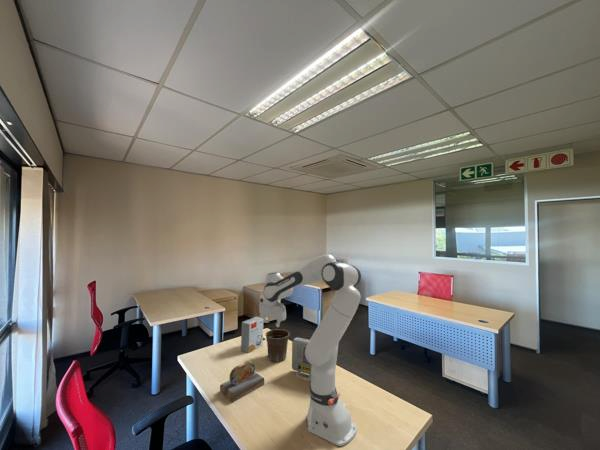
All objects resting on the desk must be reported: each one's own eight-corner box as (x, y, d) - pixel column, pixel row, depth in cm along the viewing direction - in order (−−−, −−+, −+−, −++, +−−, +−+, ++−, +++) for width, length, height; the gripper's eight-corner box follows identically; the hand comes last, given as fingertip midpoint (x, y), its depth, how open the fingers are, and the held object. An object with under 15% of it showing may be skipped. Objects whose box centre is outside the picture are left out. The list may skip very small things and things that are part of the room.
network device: (335, 378, 144) (335, 343, 144) (331, 386, 136) (331, 349, 136) (296, 367, 154) (296, 335, 155) (289, 375, 146) (290, 340, 147)
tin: (231, 387, 127) (231, 371, 128) (228, 385, 129) (228, 368, 130) (255, 375, 138) (255, 360, 139) (251, 373, 140) (252, 358, 141)
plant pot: (273, 350, 178) (273, 327, 178) (293, 355, 170) (293, 331, 171) (260, 360, 163) (260, 335, 163) (281, 366, 156) (281, 340, 156)
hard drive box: (248, 353, 172) (248, 324, 173) (240, 350, 176) (241, 322, 177) (263, 345, 185) (263, 318, 186) (255, 342, 189) (256, 316, 190)
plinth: (264, 384, 137) (264, 377, 137) (232, 402, 122) (232, 394, 122) (251, 376, 145) (251, 369, 145) (220, 391, 130) (220, 384, 130)
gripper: (289, 303, 139) (288, 328, 138) (265, 296, 152) (265, 319, 152) (280, 305, 134) (280, 331, 133) (257, 298, 148) (257, 321, 147)
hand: (272, 324), depth 143 cm, fingers open, 8 cm apart
